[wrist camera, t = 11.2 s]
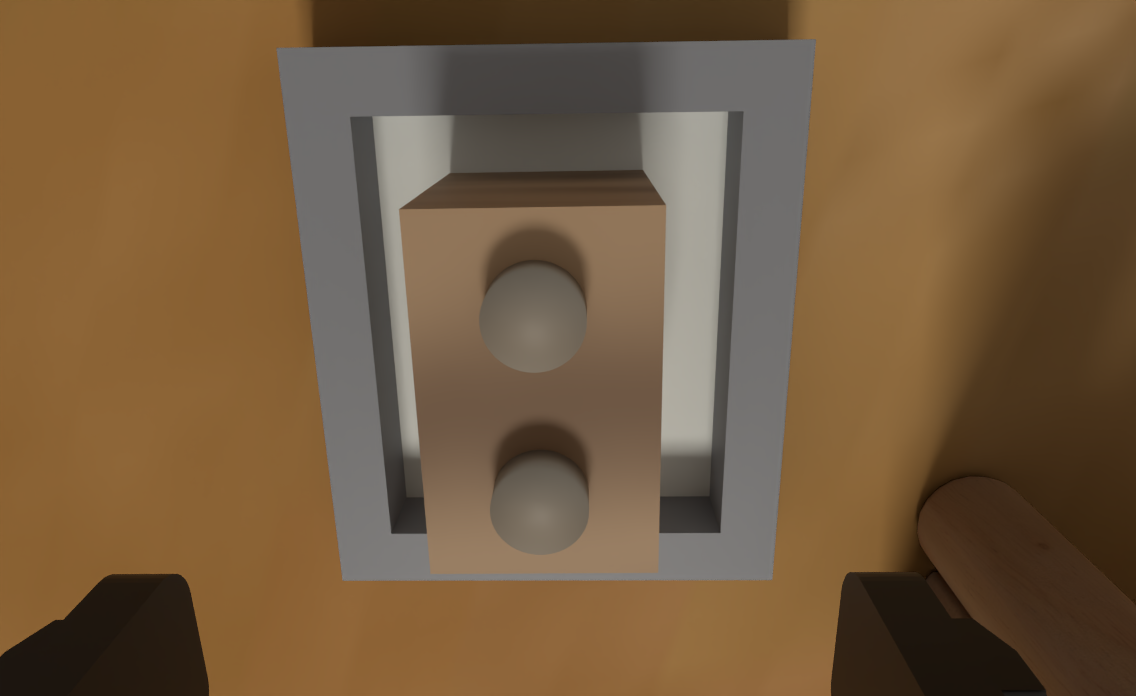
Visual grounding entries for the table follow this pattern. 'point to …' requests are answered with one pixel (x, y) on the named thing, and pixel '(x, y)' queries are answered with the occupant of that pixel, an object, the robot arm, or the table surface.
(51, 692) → the robot arm
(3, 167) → the table surface
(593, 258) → the two-stud toy brick
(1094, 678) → the wooden toy
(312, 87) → the bay frame
